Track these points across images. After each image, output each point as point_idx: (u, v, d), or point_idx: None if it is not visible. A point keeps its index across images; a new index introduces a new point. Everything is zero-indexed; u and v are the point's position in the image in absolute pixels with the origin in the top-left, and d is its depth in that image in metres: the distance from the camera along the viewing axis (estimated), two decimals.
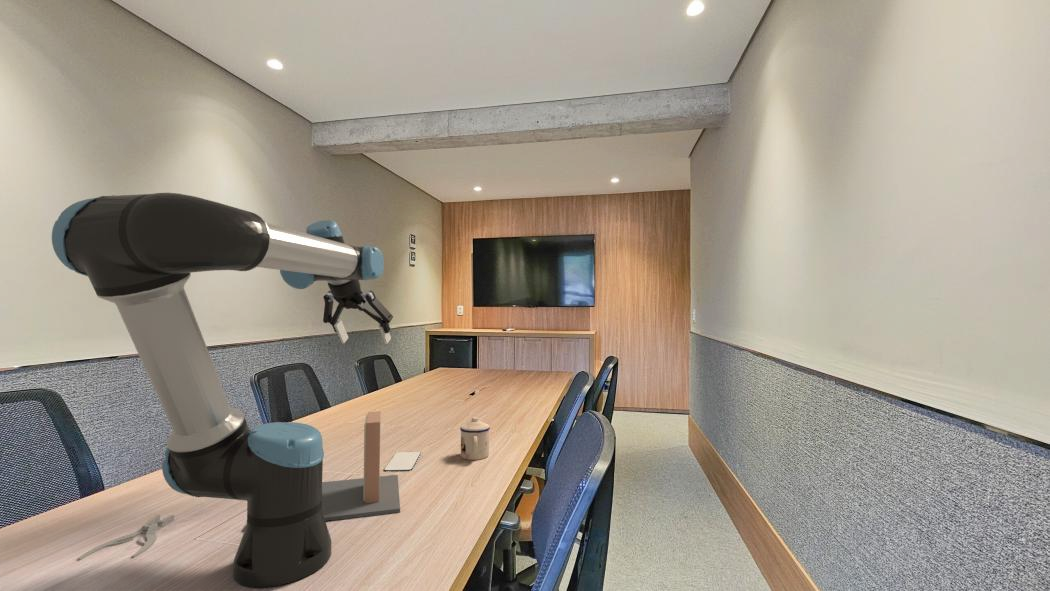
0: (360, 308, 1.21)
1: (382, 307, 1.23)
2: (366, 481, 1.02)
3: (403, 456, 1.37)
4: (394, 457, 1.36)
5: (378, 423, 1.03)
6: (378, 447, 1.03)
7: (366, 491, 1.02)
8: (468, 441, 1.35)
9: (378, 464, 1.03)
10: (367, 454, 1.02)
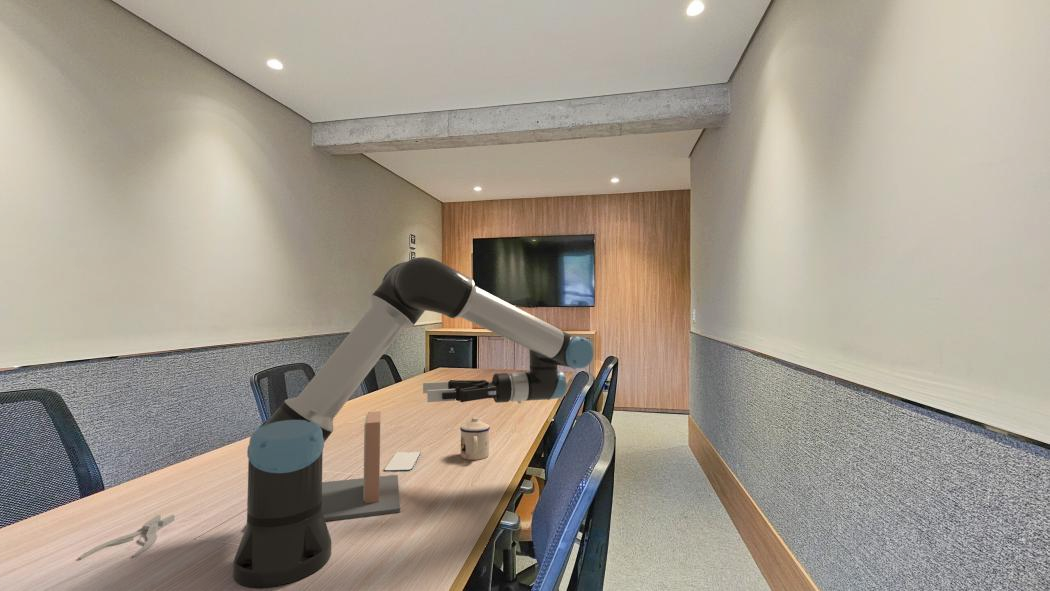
0: (478, 384, 1.14)
1: (476, 396, 1.08)
2: (366, 481, 1.02)
3: (403, 456, 1.37)
4: (394, 457, 1.36)
5: (378, 423, 1.03)
6: (378, 447, 1.03)
7: (366, 491, 1.02)
8: (468, 441, 1.35)
9: (378, 464, 1.03)
10: (367, 454, 1.02)
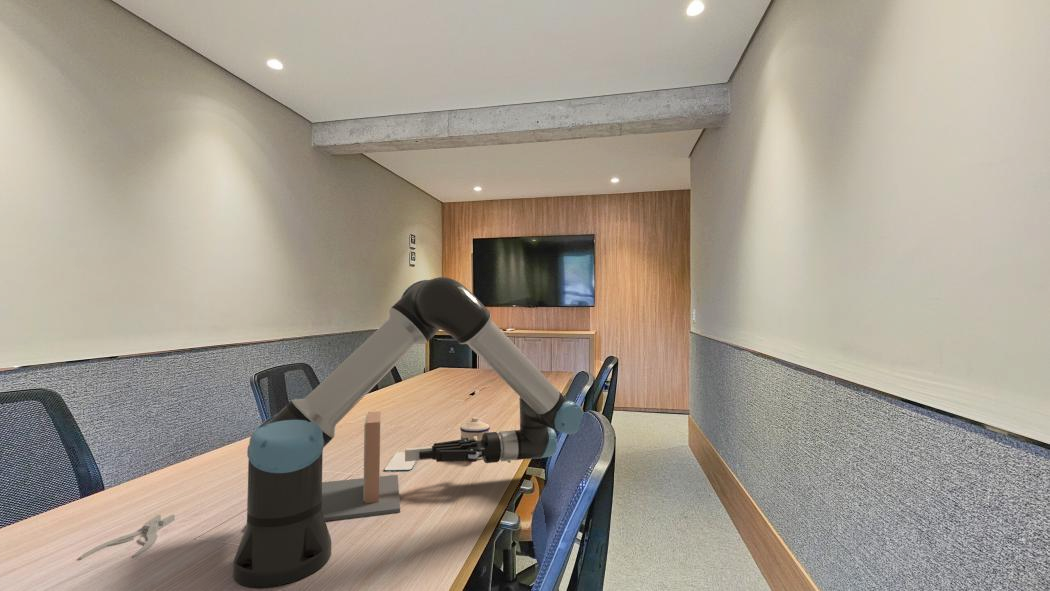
0: (463, 444, 1.13)
1: (453, 458, 1.10)
2: (366, 481, 1.02)
3: (402, 456, 1.37)
4: (394, 457, 1.36)
5: (378, 423, 1.03)
6: (378, 447, 1.03)
7: (366, 491, 1.02)
8: None
9: (378, 464, 1.03)
10: (367, 454, 1.02)
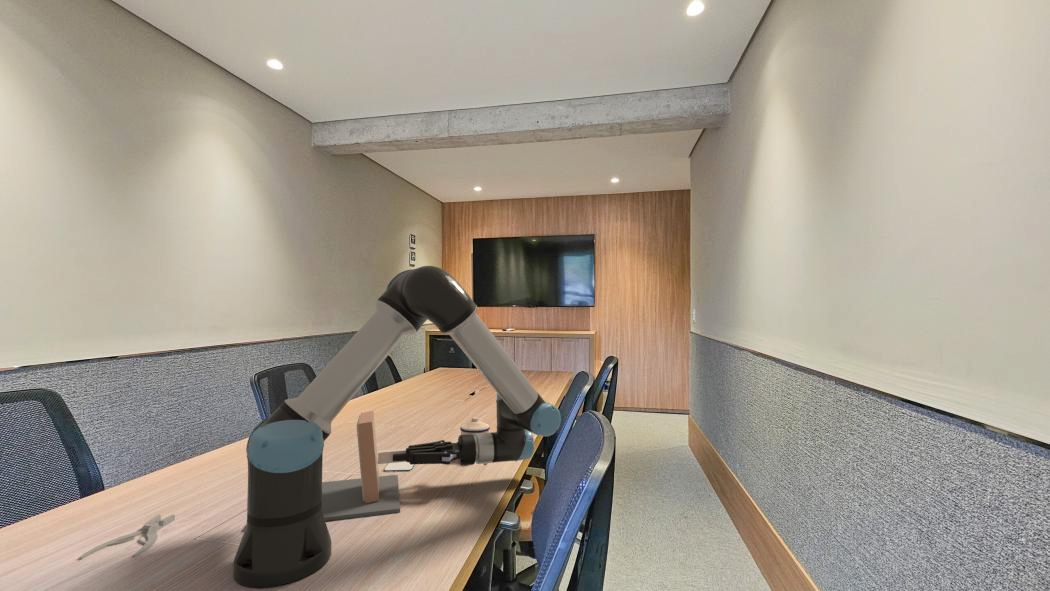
0: (437, 447, 1.12)
1: (427, 460, 1.08)
2: (364, 481, 1.02)
3: None
4: None
5: (370, 423, 1.03)
6: (372, 446, 1.03)
7: (365, 491, 1.02)
8: None
9: (374, 463, 1.03)
10: (362, 455, 1.02)
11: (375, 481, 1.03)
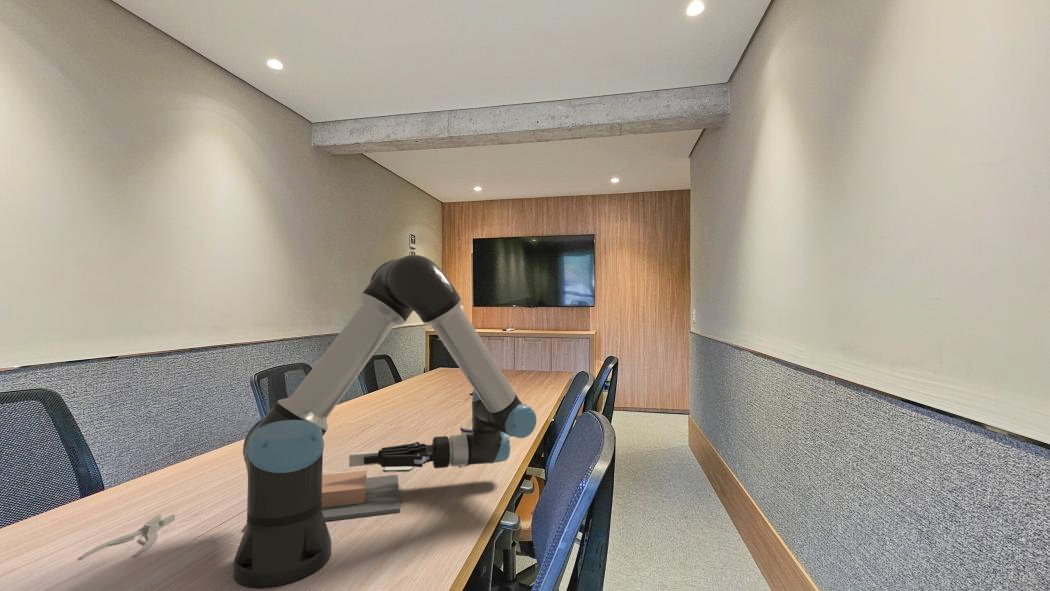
0: (411, 449, 1.10)
1: (398, 463, 1.06)
2: (341, 503, 1.00)
3: None
4: None
5: None
6: None
7: (352, 501, 1.01)
8: None
9: (324, 493, 1.00)
10: None
11: (343, 492, 1.01)
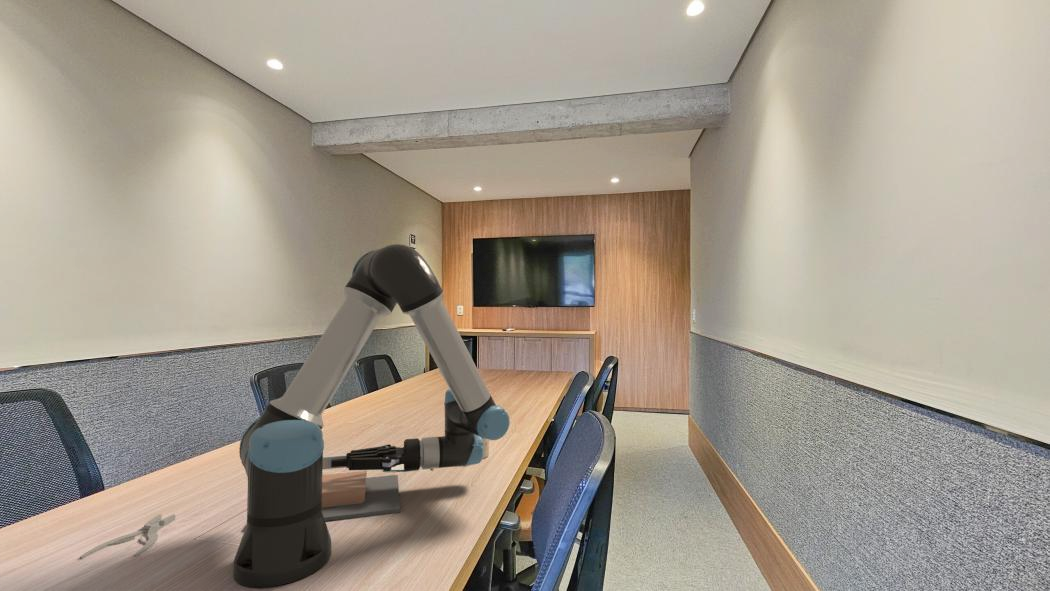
0: (380, 452, 1.08)
1: (366, 466, 1.04)
2: (341, 503, 1.00)
3: None
4: None
5: None
6: None
7: (352, 501, 1.01)
8: None
9: (324, 493, 1.00)
10: None
11: (343, 492, 1.01)
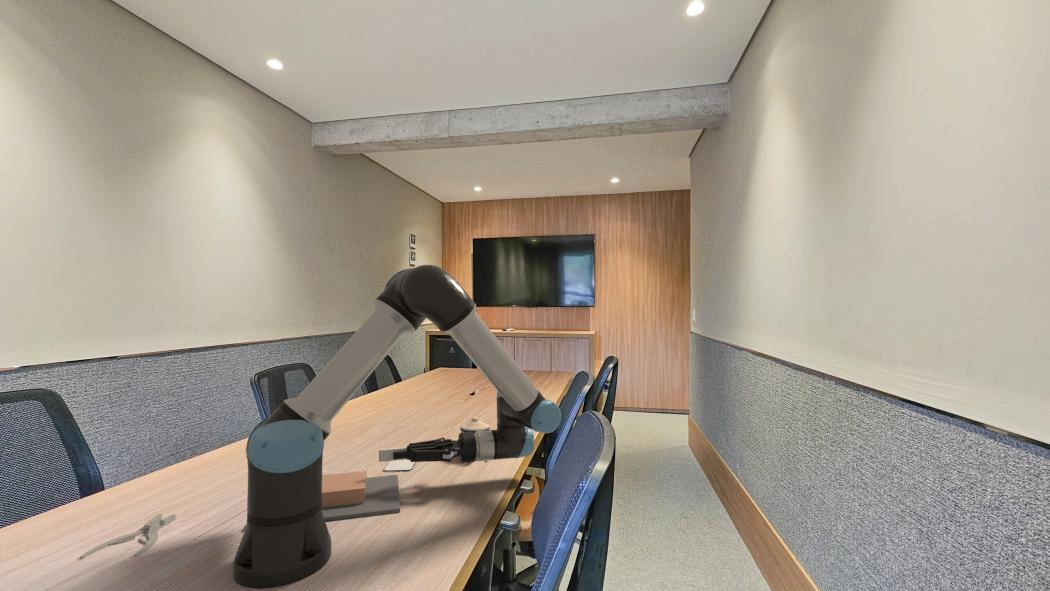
0: (438, 444, 1.12)
1: (427, 458, 1.08)
2: (341, 503, 1.00)
3: None
4: None
5: None
6: None
7: (352, 501, 1.01)
8: None
9: (324, 493, 1.00)
10: None
11: (343, 492, 1.01)
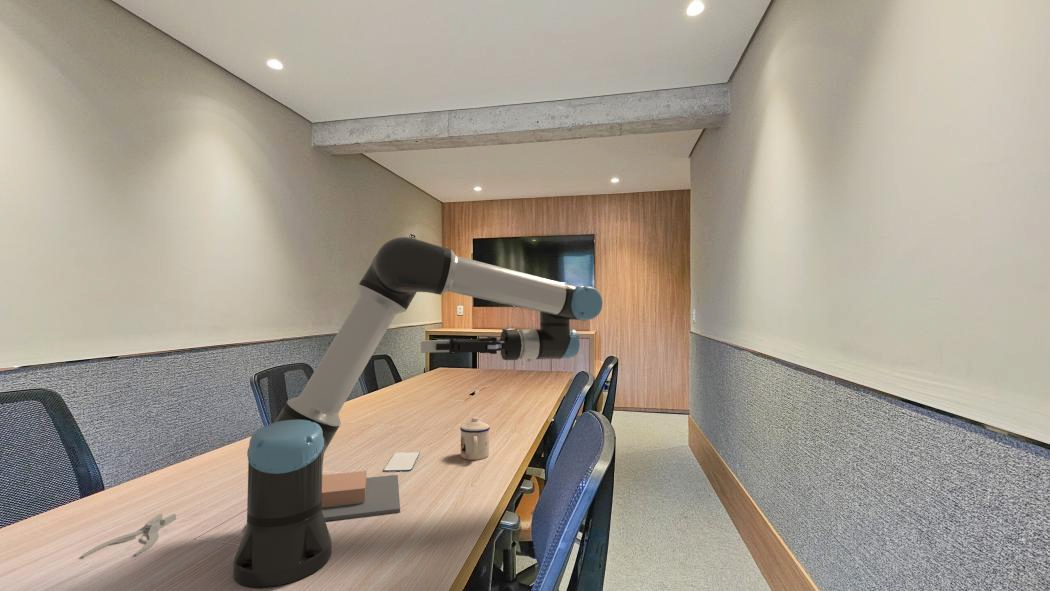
0: (482, 338, 1.08)
1: (472, 348, 1.04)
2: (341, 503, 1.00)
3: (402, 456, 1.37)
4: (393, 457, 1.35)
5: None
6: None
7: (352, 501, 1.01)
8: (468, 441, 1.35)
9: (324, 493, 1.00)
10: None
11: (343, 492, 1.01)
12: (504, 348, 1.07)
